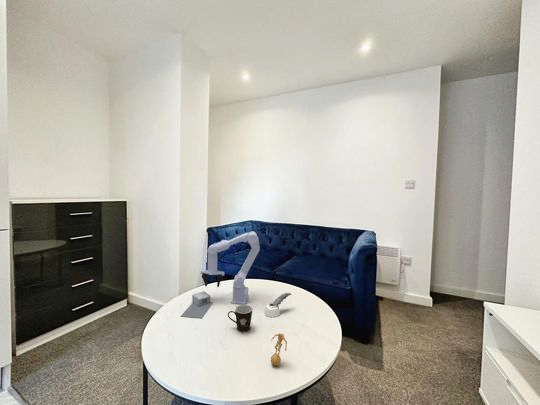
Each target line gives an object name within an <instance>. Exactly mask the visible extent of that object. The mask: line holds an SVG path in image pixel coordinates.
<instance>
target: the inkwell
mask: <svg viewBox="0 0 540 405" xmlns="http://www.w3.org/2000/svg"><path fill="white" fill-rule="evenodd" d="M291 295H292V293H291V292H284V293H282V294H281V295H279V296H278V297H277V298H276V299H274V301H273V302H270V303H268V304H266V306H265V308H264V311H263V313H264V315H265V316H266V317H269V318H277V317H279V316H280V315H281V311H280V307H279V306H280V305H281V304H282V303H283V301H284V300H286V299H287V298H288V297H289V296H291Z"/></svg>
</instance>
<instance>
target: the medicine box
mask: <svg viewBox="0 0 540 405" xmlns="http://www.w3.org/2000/svg"><path fill="white" fill-rule="evenodd" d="M191 296H192V298H191V300H192V303H193V302H194V303H195V304H196V305H198V306H201V305H204V304H207V303H210V302H212V301H211V298H212V297H211V295H210V294H209V293H207V292H206V291H200V292H197V293H194V294H191Z"/></svg>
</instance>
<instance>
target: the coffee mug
mask: <svg viewBox="0 0 540 405" xmlns="http://www.w3.org/2000/svg"><path fill="white" fill-rule="evenodd" d="M230 313H233V314H234V316H235V320H234V318H231V316H230ZM252 315H253V307H252V306H251V305H248V304H241V305H240V304H239V305H237V306H236V307H235V308H234V310H230V311H228V313H227V317H228V319H229V320H230V321H232V322H234V323H235V325H236V330H237V331H238V332H240V333H246V332H248V331H250V330H251V324H252Z"/></svg>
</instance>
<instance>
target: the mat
mask: <svg viewBox="0 0 540 405" xmlns="http://www.w3.org/2000/svg"><path fill="white" fill-rule="evenodd" d="M213 304H214V302H213V301H210V303H207V304H204V305H201V306H198V305H196V304H195V303H194V302H192V303H190V305H189V306H188V307H187V308H186V309H185V310H184V311H183V312H182V314H181V315H180V317H181V318H191V319H203V318H204V316H205V315H206V314H207V312H208V311H209V309H210V308H211V306H212V305H213Z"/></svg>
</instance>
